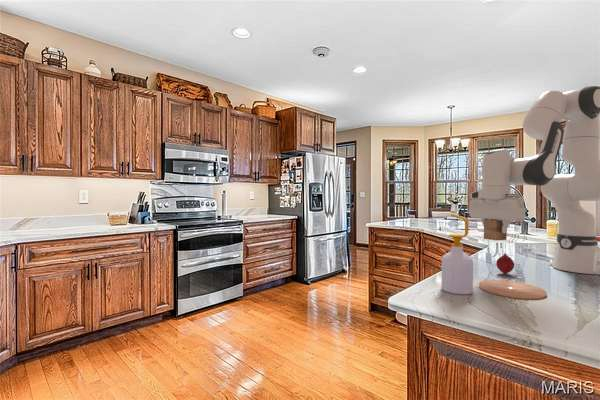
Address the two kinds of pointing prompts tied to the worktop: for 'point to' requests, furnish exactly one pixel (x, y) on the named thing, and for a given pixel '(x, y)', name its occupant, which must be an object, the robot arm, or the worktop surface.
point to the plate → (512, 289)
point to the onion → (505, 264)
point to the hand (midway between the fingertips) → (495, 232)
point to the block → (493, 230)
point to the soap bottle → (457, 266)
